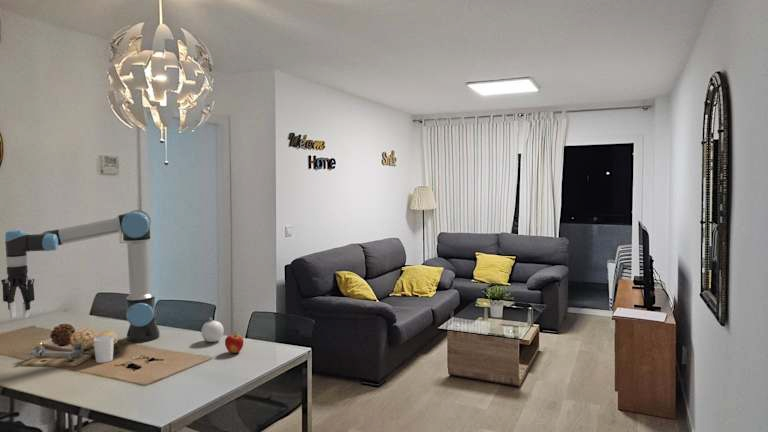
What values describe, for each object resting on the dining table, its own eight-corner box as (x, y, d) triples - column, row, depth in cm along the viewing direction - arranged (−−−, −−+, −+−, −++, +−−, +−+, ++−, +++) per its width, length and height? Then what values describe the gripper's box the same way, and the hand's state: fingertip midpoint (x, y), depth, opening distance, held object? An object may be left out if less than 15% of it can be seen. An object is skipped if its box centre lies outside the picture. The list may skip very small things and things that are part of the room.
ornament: (197, 343, 262) (196, 319, 261) (209, 337, 272) (208, 314, 271) (216, 345, 259) (215, 320, 258) (227, 339, 269) (227, 315, 268)
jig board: (91, 357, 243) (91, 354, 243) (74, 366, 231) (74, 364, 231) (41, 356, 244) (41, 353, 244) (22, 365, 232) (22, 363, 232)
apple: (234, 348, 254) (234, 328, 254) (247, 351, 250) (246, 330, 249) (221, 353, 247) (221, 332, 247) (234, 356, 243) (233, 335, 243)
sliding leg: (45, 354, 242) (44, 341, 242) (32, 360, 234) (31, 347, 234) (38, 354, 243) (38, 341, 242) (25, 360, 234) (24, 347, 234)
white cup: (118, 358, 241) (117, 336, 240) (105, 364, 234) (104, 341, 233) (104, 356, 243) (103, 335, 242) (90, 362, 236) (89, 340, 235)
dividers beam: (84, 355, 242) (83, 342, 241) (72, 362, 233) (71, 349, 233) (40, 354, 243) (40, 342, 242) (27, 361, 234) (27, 348, 234)
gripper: (42, 264, 241) (45, 315, 243) (3, 263, 242) (6, 314, 244) (31, 267, 234) (33, 319, 236) (-10, 266, 235) (-7, 319, 236)
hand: (19, 317), depth 240 cm, fingers open, 5 cm apart
